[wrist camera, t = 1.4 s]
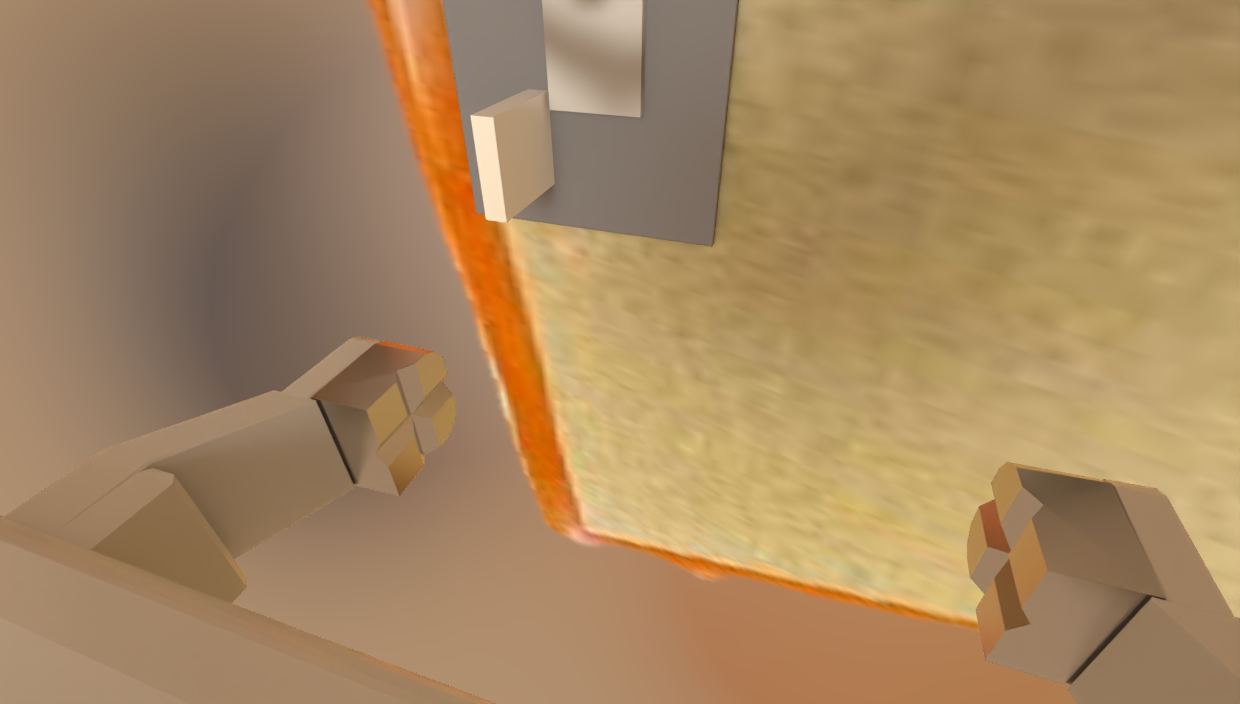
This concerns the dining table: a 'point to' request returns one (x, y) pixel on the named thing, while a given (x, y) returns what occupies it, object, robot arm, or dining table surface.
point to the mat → (612, 117)
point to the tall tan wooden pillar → (595, 55)
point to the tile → (514, 153)
